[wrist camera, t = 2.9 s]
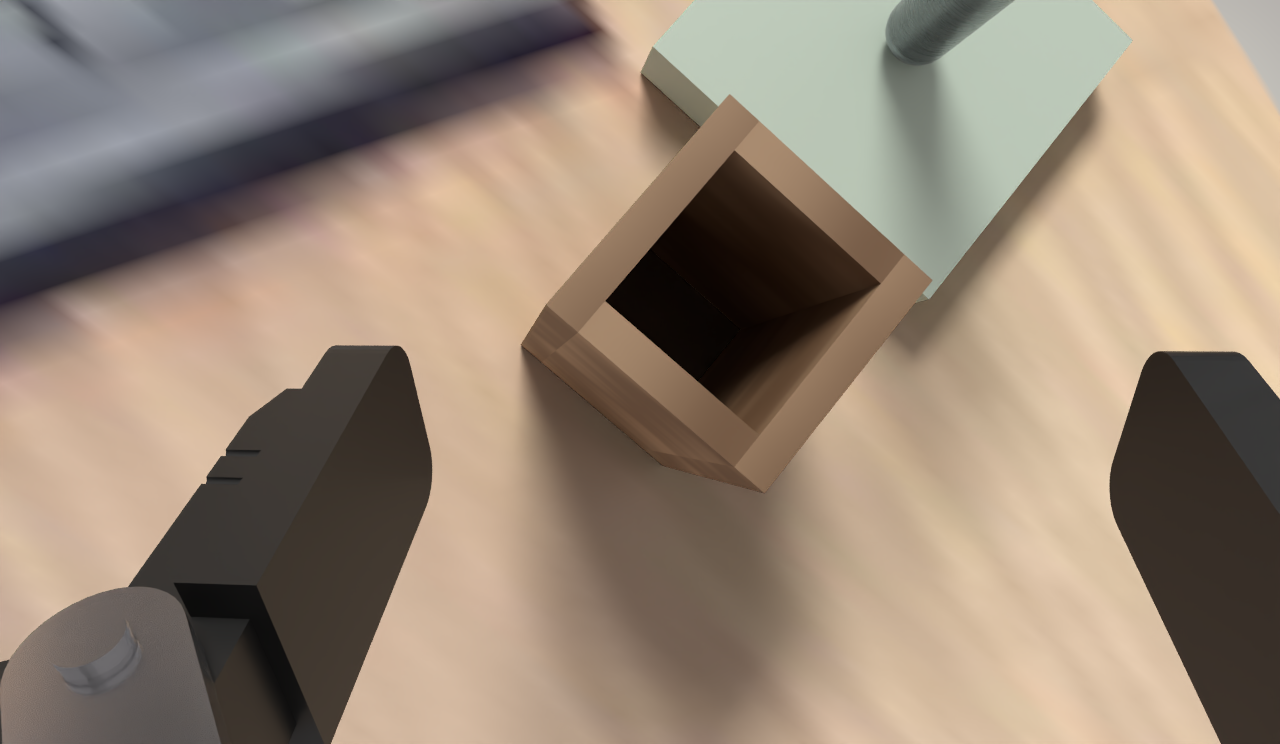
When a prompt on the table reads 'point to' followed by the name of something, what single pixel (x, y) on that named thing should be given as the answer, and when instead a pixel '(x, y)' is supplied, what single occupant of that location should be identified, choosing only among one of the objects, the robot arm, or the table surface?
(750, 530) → the table surface
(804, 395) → the brown wooden tall box
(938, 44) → the grey metallic rounded rod
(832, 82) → the pale green square base
